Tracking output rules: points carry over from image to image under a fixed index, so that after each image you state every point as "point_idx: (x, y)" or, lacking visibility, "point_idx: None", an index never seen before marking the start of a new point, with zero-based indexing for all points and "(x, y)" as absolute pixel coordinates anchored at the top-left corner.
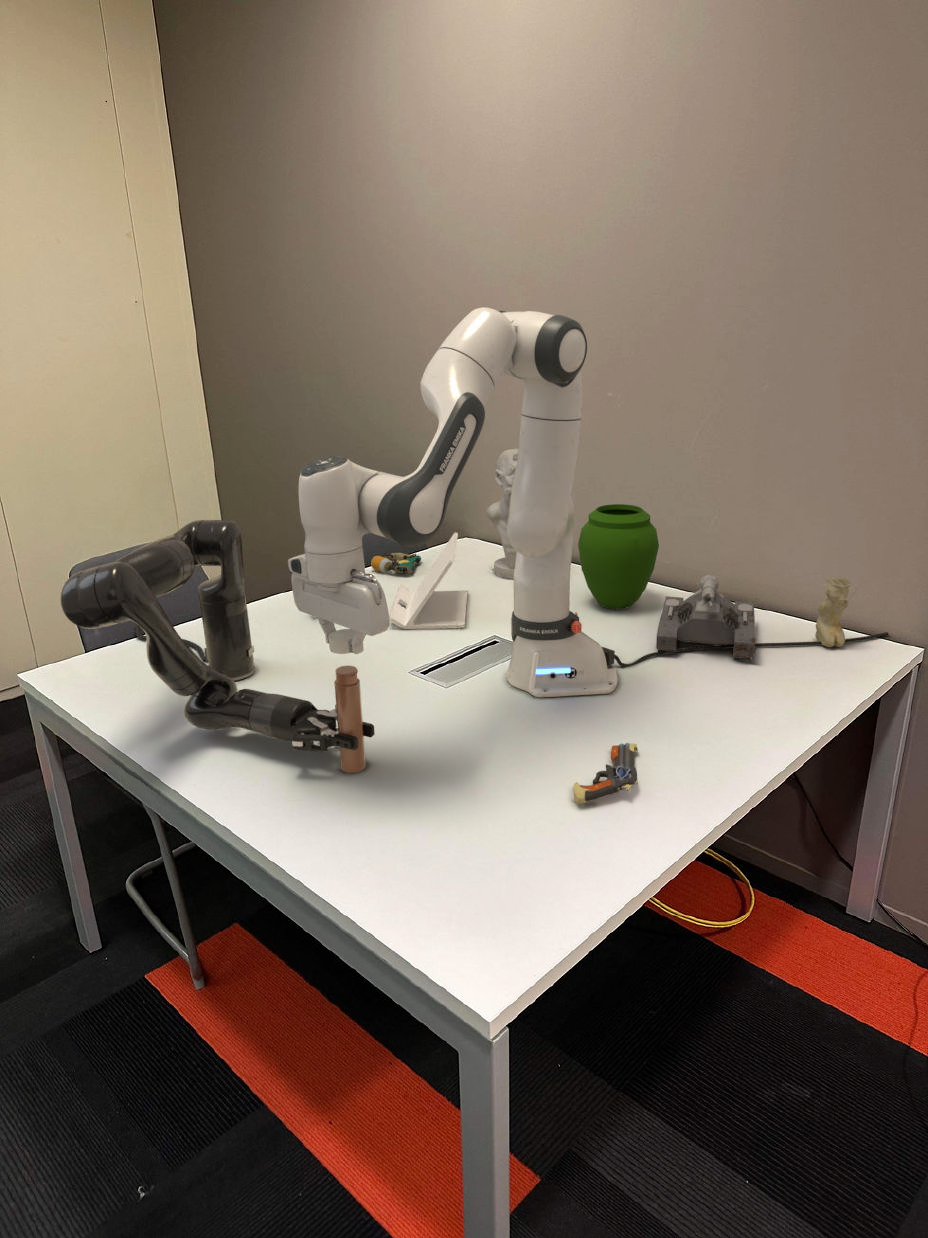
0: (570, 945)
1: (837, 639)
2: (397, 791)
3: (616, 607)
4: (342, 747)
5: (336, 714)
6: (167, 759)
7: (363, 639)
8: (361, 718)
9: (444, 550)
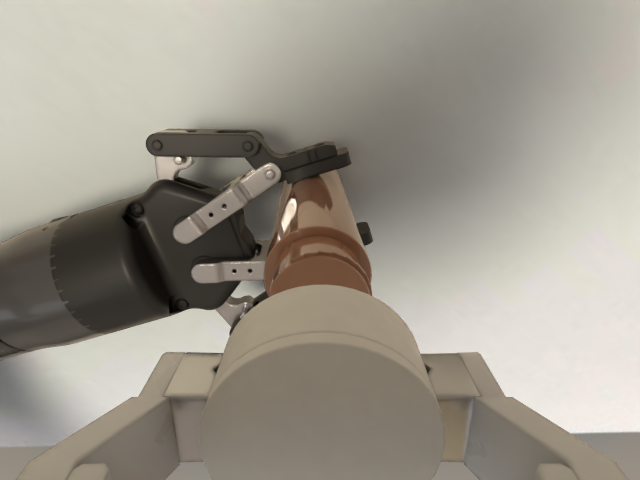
0: None
1: None
2: (466, 184)
3: None
4: None
5: (226, 203)
6: (14, 412)
7: (529, 412)
8: (348, 204)
9: None
